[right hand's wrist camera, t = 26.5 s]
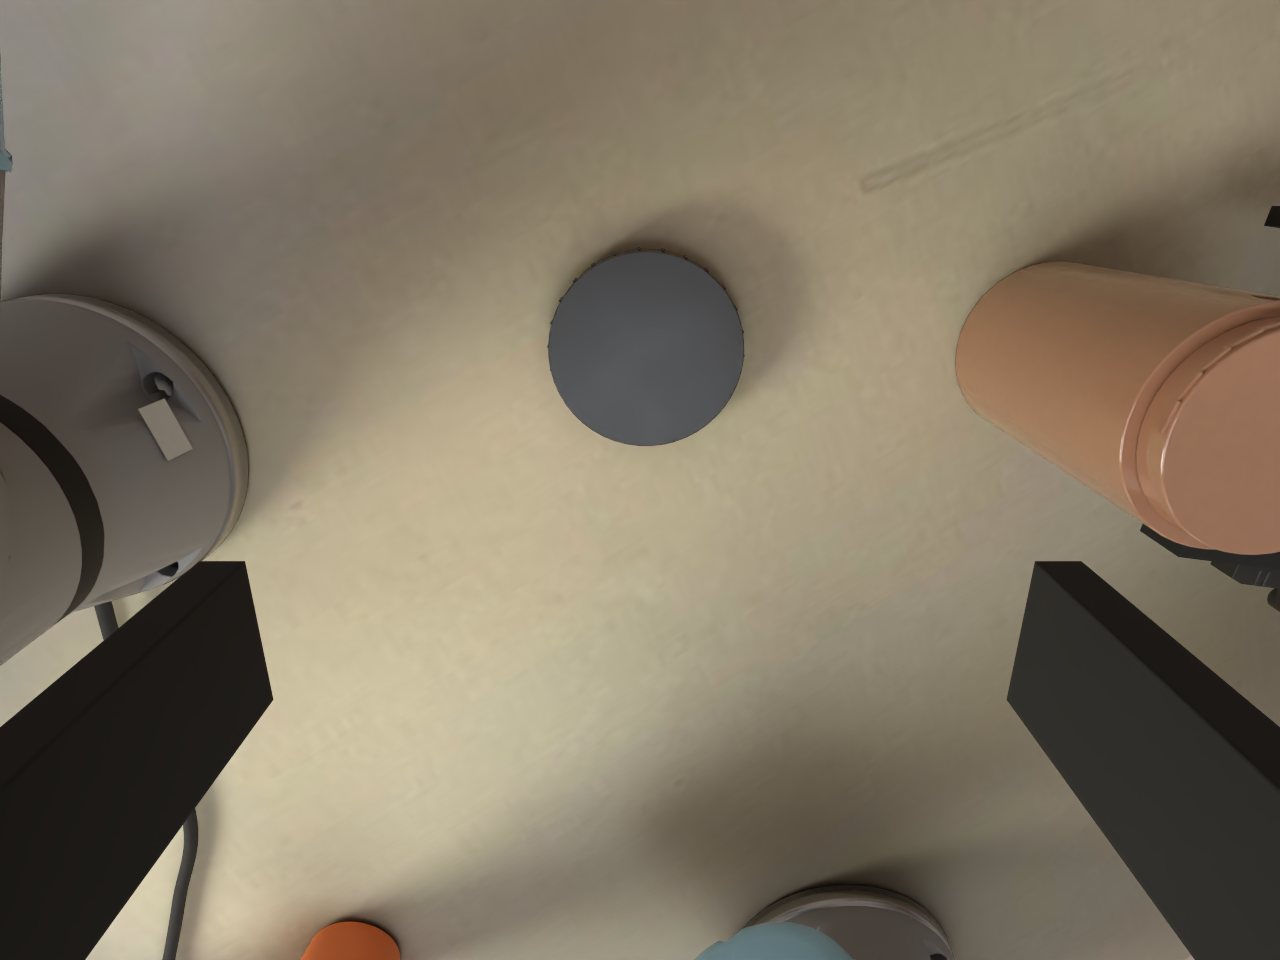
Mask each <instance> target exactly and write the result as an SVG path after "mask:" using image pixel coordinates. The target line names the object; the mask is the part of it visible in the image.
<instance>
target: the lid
mask: <svg viewBox="0 0 1280 960" xmlns="http://www.w3.org/2000/svg"><path fill="white" fill-rule="evenodd" d="M708 272H709V270H708V269H707V268H705V269H704V268H702V267H701V266H699V265H698V264H696V263H695V262H693V261H691V260H690V259H688V257H687V256H684V257H683V256H681V255H678V254H675V253H671V252H668V251H665V250H664V249H663V248H662V250H656V249H640V247H638V249H637V250H629V251H625V252H621V253H616V252H614V254H613V255H612V256H610V257H607V258H605V259H603V260H601V261H599V262H598V263H596V264H595V262H594V263H593V264H592V265H591V267H590V268H589V269H588V270H586V271H585V272H584V273H583V274H582V275H581V276H580V277H579V278H578V279H577V278H575V279H574V280H573V282H574V283H573V284H572V286H571V287H570V288H569V290H568V291H567V293H566V294H565V295H564V297H561V299H560V300H559V302H560V304H559V306H558V308H557V310H556V313H555V315H554V318H553V320H552V321H551V323H550V324H552V325H551V329H550V334H549V344H548V351H549V363H550V371H551V373H552V376H553V380H554V383H555V385H556V387H557V390H558V392H559V394H560V396H561V397H562V399H563V401H564V402H565V404H566V405H567V407H568V408H569V409H570V410H571V412H572V413H573V414H574V415H575V416H576V417H577V418H578V419H579V420H580V421H581V422H582V423H583V424H585V425H586V426H587V427H589V428H590V429H592V430H593V431H595V432H597V433H598V434H600V435H602V436H604V437H606V438H609V439H611V440H614V441H617V442H620V443H624V444H629V445H637V446H655V445H663V444H667V443H671V442H675V441H678V440H681V439H683V438H686V437H688V436H690V435H692V434H694V433H696V432H697V431H699V430H700V429H702V428H703V427H705V426H706V425H707V424H708V423H710V422H711V421H712V420H713V419H714V418H715V417H716V416H717V415H718V414H719V413H720V412H721V410H722V409H723V408H724V407H725V405H726V404H727V402H728V401H729V399H730V398H731V396H732V394H733V392H734V390H735V388H736V386H737V383H738V380H739V377H740V374H741V370H742V365H743V358H744V340H743V333H744V331H743V330H742V327H741V322H740V319H739V317H738V314H737V308H736V307H735V305H733V303H732V301H731V299H730V297H729V296H728V294H727V293H726V292H725V289H726V288H725V287H724V286H723V285H720V284H719V283H718V282H717V281H716V280H715V278H714V277H713V276H712V275H711V274H710V273H708Z"/></svg>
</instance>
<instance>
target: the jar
mask: <svg viewBox="0 0 1280 960" xmlns="http://www.w3.org/2000/svg"><path fill="white" fill-rule="evenodd" d="M956 373H957V378H958V383H959V386H960V389H961V391H962V394H963V395H964V397H965V399H966V401H967V402H968V404H969V405H970V406H971V407H972V409H973V410H974V411H975V412H976V413H977V414H978V415H979V416H981V417H982V418H983V419H985V420H986V421H988V422H989V423H991V424H992V425H994V426H995V427H997V428H998V429H1000V430H1002V431H1003V432H1005V433H1006V434H1008V435H1009V436H1011V437H1012V438H1014V439H1015V440H1017V441H1018V442H1020V443H1021V444H1023V445H1024V446H1026V447H1027V448H1029V449H1030V450H1032V451H1033V452H1035V453H1036V454H1038V455H1040V456H1041V457H1043V458H1044V459H1046V460H1047V461H1049V462H1050V463H1052V464H1053V465H1055V466H1056V467H1058V468H1059V469H1061V470H1062V471H1064V472H1065V473H1067V474H1068V475H1070V476H1071V477H1073V478H1074V479H1076V480H1078V481H1079V482H1081V483H1082V484H1084V485H1085V486H1087V487H1088V488H1090V489H1091V490H1093V491H1094V492H1096V493H1097V494H1099V495H1100V496H1102V497H1103V498H1105V499H1106V500H1108V501H1109V502H1111V503H1112V504H1114V505H1116V506H1117V507H1119V508H1120V509H1122V510H1123V511H1125V512H1126V513H1128V514H1129V515H1131V516H1132V517H1134V518H1135V519H1137V520H1138V521H1140V522H1141V523H1143V524H1144V525H1146V526H1147V527H1149V528H1150V529H1152V530H1154V531H1155V532H1157V533H1158V534H1160V535H1161V536H1163V537H1165V538H1167V539H1169V540H1171V541H1173V542H1176V543H1179V544H1182V545H1186V546H1189V547H1195V548H1201V549H1217V550H1220V551H1223V552H1228V553H1235V554H1248V555H1258V554H1270V553H1276V552H1280V296H1276V295H1270V294H1264V293H1258V292H1251V291H1245V290H1239V289H1233V288H1227V287H1220V286H1214V285H1208V284H1202V283H1196V282H1190V281H1183V280H1177V279H1171V278H1165V277H1159V276H1152V275H1146V274H1140V273H1134V272H1128V271H1121V270H1115V269H1109V268H1103V267H1097V266H1091V265H1084V264H1078V263H1072V262H1060V261H1055V262H1045V263H1040V264H1036V265H1032V266H1029V267H1026V268H1023V269H1021V270H1019V271H1017V272H1015V273H1013V274H1011V275H1009V276H1007V277H1006V278H1004V279H1003V280H1001V281H1000V282H998V283H997V284H996V285H995V286H994V287H992V288H991V289H990V290H989V291H988V292H987V293H986V294H985V295H984V296H983V297H982V298H981V299H980V300H979V302H978V303H977V304H976V306H975V307H974V308H973V310H972V311H971V313H970V315H969V316H968V318H967V320H966V322H965V324H964V327H963V329H962V331H961V334H960V338H959V341H958V346H957V351H956Z"/></svg>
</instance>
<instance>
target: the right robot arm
mask: <svg viewBox="0 0 1280 960" xmlns="http://www.w3.org/2000/svg"><path fill="white" fill-rule="evenodd" d="M12 165H13V163H12V155H11V154H10V153H9V152H8V151H7V150H6V149H5V139H4V121H3V102H2V83H1V55H0V665H2V664H3V663H4V662H6V661H7V660H8V659H10V658H11V657H12V656H14V655H15V654H16V653H17V652H19V651H20V650H21V649H23V648H24V647H25V646H27V645H28V644H29V643H31V642H32V641H33V640H35V639H36V638H37V637H39V636H40V635H41V634H43V633H44V632H46V631H47V630H48V629H50V628H51V627H52V626H53V625H55V624H56V623H57V622H59V621H60V620H61V619H63V618H64V617H66V616H67V615H68V614H70V613H71V612H74V611H78V610H81V609H85V608H88V607H92V606H94V607H95V610H96V614H97V618H98V621H99V625H100V628H101V632H102V636H103V639H104V641H103V642H102V643H101V644H99V645H98V646H97V647H96V648H95V649H93V650H92V651H91V652H90V653H89V654H87V655H86V656H85V657H84V658H83V659H81V660H80V661H79V662H78V663H77V664H75V665H74V666H73V667H72V668H71V669H69V670H68V671H67V672H66V673H65V674H63V675H62V676H61V677H60V678H59V679H57V680H56V681H55V682H54V683H53V684H51V685H50V686H49V687H48V688H47V689H45V690H44V691H43V692H42V693H41V694H40V695H38V696H37V697H36V698H35V699H34V700H32V701H31V702H30V703H29V704H28V705H26V706H25V707H24V708H23V709H22V710H20V711H19V712H18V713H17V714H16V715H14V716H13V717H12V718H11V719H10V720H8V721H7V722H6V723H5V724H4V725H2V726H1V727H0V960H85V959H86V958H87V956H88V955H89V954H90V952H91V951H92V950H93V948H94V947H95V945H96V944H97V943H98V941H99V940H100V938H101V937H102V936H103V934H104V933H105V932H106V930H107V929H108V927H109V926H110V925H111V923H112V922H113V920H114V919H115V918H116V916H117V915H118V914H119V912H120V911H121V909H122V908H123V907H124V905H125V904H126V903H127V901H128V900H129V898H130V897H131V896H132V894H133V893H134V891H135V890H136V889H137V887H138V886H139V885H140V883H141V882H142V880H143V879H144V878H145V876H146V875H147V873H148V872H149V871H150V869H151V868H152V867H153V865H154V864H155V862H156V861H157V860H158V858H159V857H160V856H161V854H162V853H163V851H164V850H165V849H166V847H167V846H168V844H169V843H170V842H171V840H172V839H173V838H174V836H175V835H176V833H177V832H178V831H179V829H180V828H181V826H182V825H183V829H184V849H183V856H182V862H181V866H180V870H179V874H178V878H177V882H176V886H175V890H174V895H173V901H172V907H171V914H170V921H169V927H168V933H167V938H166V944H165V949H164V955H163V960H175V957H176V952H177V947H178V941H179V936H180V931H181V925H182V920H183V914H184V907H185V901H186V895H187V890H188V885H189V881H190V877H191V874H192V870H193V866H194V862H195V857H196V852H197V846H198V822H197V816H196V810H195V807H196V806H197V804H198V803H199V802H200V800H201V799H202V797H203V796H204V795H205V793H206V792H207V791H208V789H209V788H210V786H211V785H212V784H213V782H214V781H215V779H216V778H217V777H218V775H219V774H220V773H221V771H222V770H223V768H224V767H225V766H226V764H227V763H228V762H229V760H230V759H231V757H232V756H233V755H234V753H235V752H236V750H237V749H238V748H239V746H240V745H241V744H242V742H243V741H244V739H245V738H246V737H247V735H248V734H249V732H250V731H251V730H252V728H253V727H254V726H255V724H256V723H257V721H258V720H259V719H260V717H261V716H262V715H263V713H264V712H265V710H266V709H267V708H268V706H269V705H270V703H271V702H272V701H273V696H272V691H271V686H270V681H269V677H268V672H267V667H266V662H265V657H264V652H263V647H262V642H261V637H260V633H259V628H258V623H257V618H256V613H255V608H254V603H253V598H252V594H251V589H250V584H249V579H248V574H247V569H246V564H245V561H202V560H203V559H205V558H206V557H207V556H208V555H209V554H211V553H212V552H213V551H214V550H215V549H216V548H217V547H218V546H219V545H220V544H221V543H222V542H223V541H224V540H225V539H226V537H227V536H228V535H229V533H230V532H231V530H232V529H233V527H234V525H235V524H236V522H237V520H238V518H239V515H240V513H241V511H242V508H243V504H244V501H245V498H246V492H247V486H248V457H247V450H246V444H245V440H244V436H243V432H242V429H241V426H240V424H239V421H238V418H237V416H236V413H235V411H234V409H233V407H232V405H231V403H230V401H229V399H228V397H227V396H226V394H225V392H224V391H223V389H222V387H221V386H220V385H219V383H218V382H217V380H216V379H215V377H214V376H213V375H212V373H211V372H210V371H209V370H208V369H207V367H206V366H205V365H204V364H203V363H202V362H201V361H200V360H199V358H198V357H197V356H196V355H195V354H194V353H193V352H192V351H191V350H190V349H188V348H187V347H186V346H185V345H184V344H183V343H182V342H180V341H179V340H178V339H177V338H175V337H174V336H173V335H171V334H170V333H169V332H167V331H166V330H165V329H163V328H162V327H160V326H158V325H157V324H155V323H154V322H152V321H151V320H149V319H147V318H145V317H143V316H141V315H139V314H137V313H135V312H133V311H131V310H128V309H126V308H124V307H121V306H119V305H116V304H113V303H110V302H107V301H103V300H99V299H95V298H91V297H86V296H79V295H72V294H42V295H34V296H28V297H22V298H16V299H11V300H5V301H1V268H2V234H3V212H4V189H5V171H9V172H11V170H12ZM179 577H180V578H179ZM177 578H178V579H177ZM175 579H177V580H176V581H175V582H174V583H172V584H171V585H170V586H169V587H168V588H166V589H165V590H164V591H163V592H162V593H160V594H159V595H158V596H157V597H156V598H154V599H153V600H152V601H151V602H150V603H148V604H147V605H146V606H145V607H144V608H142V609H141V610H140V611H139V612H138V613H136V614H135V615H134V616H133V617H132V618H130V619H129V620H128V621H127V622H126V623H124V624H123V625H122V626H121V627H120V628H118V624H117V621H116V617H115V613H114V609H113V605H112V602H111V601H113V600H116V599H120V598H123V597H127V596H130V595H134V594H137V593H140V592H143V591H147V590H150V589H153V588H156V587H158V586H161V585H164V584H167V583H169V582H171V581H173V580H175ZM1007 701H1008V702H1009V703H1010V705H1011V706H1012V708H1013V709H1014V710H1015V712H1016V713H1017V715H1018V716H1019V717H1020V719H1021V720H1022V721H1023V723H1024V724H1025V726H1026V727H1027V728H1028V730H1029V731H1030V732H1031V734H1032V735H1033V737H1034V738H1035V739H1036V741H1037V742H1038V744H1039V745H1040V746H1041V748H1042V749H1043V750H1044V752H1045V753H1046V755H1047V756H1048V757H1049V759H1050V760H1051V762H1052V763H1053V764H1054V766H1055V767H1056V768H1057V770H1058V771H1059V773H1060V774H1061V775H1062V777H1063V778H1064V779H1065V781H1066V782H1067V784H1068V785H1069V786H1070V788H1071V789H1072V791H1073V792H1074V793H1075V795H1076V796H1077V797H1078V799H1079V800H1080V802H1081V803H1082V804H1083V806H1084V807H1085V809H1086V810H1087V811H1088V813H1089V814H1090V815H1091V817H1092V818H1093V820H1094V821H1095V822H1096V824H1097V825H1098V826H1099V828H1100V829H1101V831H1102V832H1103V833H1104V835H1105V836H1106V838H1107V839H1108V840H1109V842H1110V843H1111V844H1112V846H1113V847H1114V849H1115V850H1116V851H1117V853H1118V854H1119V856H1120V857H1121V858H1122V860H1123V861H1124V862H1125V864H1126V865H1127V867H1128V868H1129V869H1130V871H1131V872H1132V873H1133V875H1134V876H1135V878H1136V879H1137V880H1138V882H1139V883H1140V885H1141V886H1142V887H1143V889H1144V890H1145V891H1146V893H1147V894H1148V896H1149V897H1150V898H1151V900H1152V901H1153V903H1154V904H1155V905H1156V907H1157V908H1158V909H1159V911H1160V912H1161V914H1162V915H1163V916H1164V918H1165V919H1166V920H1167V922H1168V923H1169V925H1170V926H1171V927H1172V929H1173V930H1174V932H1175V933H1176V934H1177V936H1178V937H1179V938H1180V940H1181V941H1182V943H1183V944H1184V945H1185V947H1186V948H1187V950H1188V951H1189V952H1190V954H1191V955H1192V956H1193V958H1194V959H1195V960H1280V727H1279V726H1278V725H1276V724H1275V723H1274V722H1273V721H1272V720H1270V719H1269V718H1268V717H1267V716H1266V715H1264V714H1263V713H1262V712H1261V711H1260V710H1258V709H1257V708H1256V707H1255V706H1254V705H1252V704H1251V703H1250V702H1249V701H1248V700H1246V699H1245V698H1244V697H1243V696H1242V695H1240V694H1239V693H1238V692H1237V691H1236V690H1235V689H1233V688H1232V687H1231V686H1230V685H1229V684H1227V683H1226V682H1225V681H1224V680H1223V679H1221V678H1220V677H1219V676H1218V675H1217V674H1215V673H1214V672H1213V671H1212V670H1211V669H1209V668H1208V667H1207V666H1206V665H1205V664H1203V663H1202V662H1201V661H1200V660H1199V659H1197V658H1196V657H1195V656H1194V655H1193V654H1191V653H1190V652H1189V651H1188V650H1187V649H1185V648H1184V647H1183V646H1182V645H1181V644H1179V643H1178V642H1177V641H1176V640H1175V639H1173V638H1172V637H1171V636H1170V635H1169V634H1168V633H1166V632H1165V631H1164V630H1163V629H1162V628H1160V627H1159V626H1158V625H1157V624H1156V623H1154V622H1153V621H1152V620H1151V619H1150V618H1148V617H1147V616H1146V615H1145V614H1144V613H1142V612H1141V611H1140V610H1139V609H1138V608H1136V607H1135V606H1134V605H1133V604H1132V603H1130V602H1129V601H1128V600H1127V599H1126V598H1124V597H1123V596H1122V595H1121V594H1120V593H1118V592H1117V591H1116V590H1115V589H1114V588H1112V587H1111V586H1110V585H1109V584H1108V583H1106V582H1105V581H1104V580H1103V579H1102V578H1100V577H1099V576H1098V575H1097V574H1096V573H1095V572H1093V571H1092V570H1091V569H1090V568H1089V567H1087V566H1086V565H1085V564H1084V563H1083V562H1081V561H1035V564H1034V569H1033V574H1032V579H1031V584H1030V589H1029V593H1028V598H1027V603H1026V608H1025V613H1024V618H1023V623H1022V628H1021V633H1020V637H1019V642H1018V647H1017V652H1016V657H1015V662H1014V667H1013V672H1012V677H1011V681H1010V686H1009V691H1008V696H1007Z"/></svg>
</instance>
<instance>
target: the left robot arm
mask: <svg viewBox="0 0 1280 960" xmlns="http://www.w3.org/2000/svg"><path fill="white" fill-rule="evenodd" d="M1264 226H1270V227H1276V228H1280V206H1272V207H1271V210H1270V212H1269V215H1268V217H1267V220H1266V222H1265V224H1264ZM1140 531H1141V532H1143V533H1144V534H1146V535H1147V536H1148V537H1150V538H1151V539H1153V540H1154V541H1156V542H1157V543H1159V544H1160V545H1162V546H1163V547H1165V548H1166V549H1168V550H1169V551H1171V552H1172V553H1174V554H1175V555H1176V556H1178V557H1184V558H1192V559H1199V560H1207V561H1212V562H1211V565H1213V566H1214V567H1216V568H1217V569H1219V570H1220V571H1222V572H1223V573H1225V574H1226V575H1228V576H1230V577H1231V578H1233V579H1234V580H1236V581H1238V582H1239V583H1241V584H1247V585H1255V586H1263V587H1271V588H1274V589H1273V590H1272V591H1271V592H1270V593H1269V595H1268V599H1267V601H1268V604H1269V605H1271V606H1272V607H1273V608H1275V609H1276V610H1278V611H1279V612H1280V552H1276V553H1270V554H1258V555H1248V554H1235V553H1228V552H1223V551H1220V550H1217V549H1201V548H1195V547H1189V546H1186V545H1182V544H1179V543H1176V542H1173V541H1171V540H1169V539H1167V538H1165V537H1163V536H1161V535H1160V534H1158V533H1157V532H1155V531H1154V530H1152V529H1150V528H1149V527H1147V526H1146V525H1144V524H1143V525H1142V527H1141V530H1140ZM694 960H955V958H954V956H953V953H952V951H951V948H950V946H949V943H948V941H947V939H946V936H945V934H944V932H943V930H942V928H941V926H940V925H939V924H938V922H937V921H936V919H935V918H934V917H933V916H932V915H931V914H930V913H929V912H928V911H927V910H925V909H924V908H923V907H922V906H920V905H919V904H917V903H916V902H914V901H912V900H910V899H908V898H907V897H904V896H902V895H900V894H897V893H894V892H891V891H888V890H885V889H880V888H876V887H869V886H861V885H835V886H826V887H819V888H815V889H810V890H806V891H803V892H800V893H796V894H794V895H791V896H788V897H786V898H784V899H782V900H780V901H778V902H776V903H774V904H772V905H770V906H769V907H767V908H766V909H764V910H763V911H761V912H760V913H758V914H757V915H756V916H755V917H754V918H753V919H751V920H750V921H749V922H748V923H747V924H746V925H745V926H744V928H743V929H741V930H740V931H739V932H738V933H737V934H735V935H734V936H733V937H732V938H730V939H729V940H728V941H725V942H724V941H718V942H716V943H715V944H713V945H712V946H710V947H709V948H707V949H706V950H705V951H703V952H702V953H701V954H700V955H699V956H698V957H696V958H695V959H694Z"/></svg>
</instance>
